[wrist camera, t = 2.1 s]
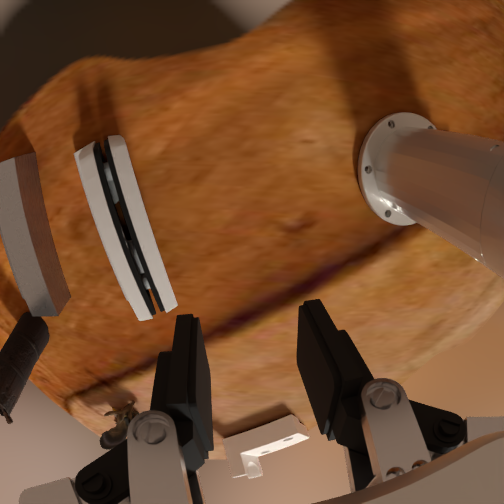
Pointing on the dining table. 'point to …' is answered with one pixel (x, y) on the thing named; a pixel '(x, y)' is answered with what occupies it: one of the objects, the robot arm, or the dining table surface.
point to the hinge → (110, 230)
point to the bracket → (261, 444)
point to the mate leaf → (30, 237)
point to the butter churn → (20, 359)
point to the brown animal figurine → (118, 427)
